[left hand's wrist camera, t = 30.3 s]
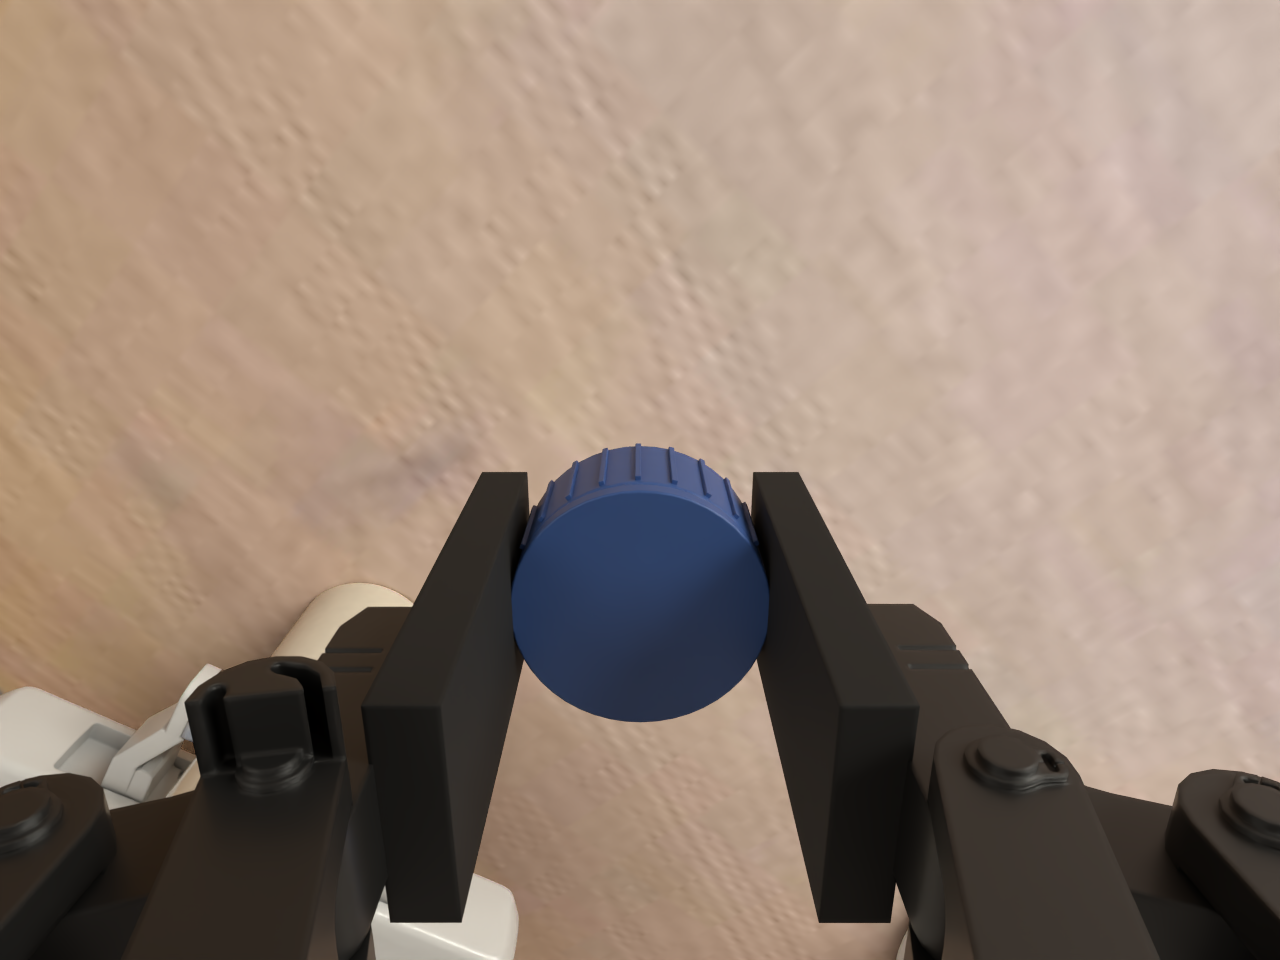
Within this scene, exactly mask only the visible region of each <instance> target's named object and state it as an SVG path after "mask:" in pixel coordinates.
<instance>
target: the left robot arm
mask: <svg viewBox="0 0 1280 960" xmlns="http://www.w3.org/2000/svg"><path fill="white" fill-rule="evenodd" d="M528 519H529V498H528V477H527V472H482V474H481V475H480V477H479V479H478V481H477V483H476V485H475V487H474V489H473V491H472V493H471V495H470V497H469V499H468V500H467V502H466V504H465V506H464V508H463V510H462V512H461V514H460V516H459V518H458V520H457V522H456V524H455V525H454V527H453V529H452V531H451V533H450V535H449V537H448V539H447V541H446V543H445V545H444V547H443V549H442V550H441V552H440V554H439V556H438V558H437V560H436V562H435V564H434V566H433V568H432V570H431V572H430V573H429V575H428V577H427V579H426V581H425V583H424V585H423V587H422V589H421V591H420V593H419V595H418V597H417V598H416V600H415V602H414V604H413V606H412V607H367V608H365V609H364V610H362V611H361V612H359V613H358V614H357V615H355V616H354V617H352V618H351V619H349V620H348V621H346V622H345V623H344V624H342V625H341V626H340V627H339V628H338V630H337V631H336V633H335V634H334V636H333V637H332V639H331V640H330V642H329V643H328V645H327V646H326V648H325V653H322V654H321V656H320V657H319V659H318V660H314V659H310V658H307V657H303V656H274V657H269V658H263V659H258V660H253V661H248V662H245V663H242V664H240V665H237V666H235V667H232V668H229V669H227V670H224V671H221V672H219V673H218V674H216V675H215V676H213V677H212V678H210V679H208V680H207V681H205V682H204V683H202V684H201V685H199V686H198V687H197V688H196V689H195V690H194V691H193V693H192V694H191V695H190V696H189V697H188V698H187V700H186V701H185V702H184V704H185V709H186V713H187V718H188V722H189V727H190V731H191V736H192V740H193V745H194V749H195V754H196V758H197V763H198V767H199V772H200V779H199V781H198V783H197V785H196V788H195V790H192V791H189V792H185V793H182V794H178V795H175V796H171V797H167V798H162V799H157V800H153V801H148V802H143V803H139V804H134V805H129V806H125V807H120V808H115V809H111V810H109V807H108V804H107V800H106V796H105V793H104V789H103V788H102V787H101V786H100V785H99V784H98V783H97V782H96V781H95V780H94V779H93V778H91V777H88V776H83V775H78V774H72V773H61V774H50V775H40V776H36V777H32V778H27V779H24V780H22V781H17V782H14V783H11V784H8V785H5V786H3V787H1V788H0V960H376V955H375V947H374V940H373V933H372V926H371V923H372V920H373V917H374V915H375V912H376V909H377V906H378V903H379V901H380V898H381V895H382V892H383V889H384V887H385V888H386V896H387V903H388V910H389V918H390V923H462V919H463V915H464V910H465V906H466V902H467V898H468V893H469V889H470V885H471V881H472V877H473V872H474V868H475V864H476V860H477V855H478V851H479V847H480V843H481V838H482V834H483V830H484V826H485V822H486V817H487V813H488V809H489V805H490V800H491V796H492V792H493V788H494V784H495V779H496V775H497V771H498V767H499V762H500V758H501V754H502V750H503V745H504V741H505V737H506V733H507V729H508V724H509V720H510V716H511V712H512V707H513V703H514V699H515V695H516V690H517V686H518V682H519V678H520V674H521V669H522V665H523V661H524V658H523V657H522V654H521V652H520V650H519V648H518V646H517V644H516V641H515V637H514V632H513V617H512V600H511V585H512V581H513V578H514V574H515V571H516V568H517V565H518V561H519V558H520V555H521V552H522V549H520V548H519V547H520V544H521V541H522V538H523V535H524V532H525V529H526V525H527V522H528ZM751 519H752V522H753V525H754V528H755V532H756V535H757V538H758V541H759V545H758V548H759V551H760V554H761V558H762V561H763V564H764V567H765V570H766V575H767V579H768V583H769V610H768V626H767V636H766V640H765V642H764V645H763V647H762V649H761V651H760V654H759V656H758V657H757V663H758V667H759V671H760V676H761V680H762V684H763V688H764V692H765V697H766V701H767V705H768V709H769V714H770V718H771V722H772V726H773V730H774V735H775V739H776V743H777V747H778V752H779V756H780V760H781V764H782V768H783V773H784V777H785V781H786V785H787V790H788V794H789V798H790V802H791V807H792V811H793V815H794V819H795V823H796V828H797V832H798V836H799V840H800V845H801V849H802V853H803V857H804V861H805V866H806V870H807V874H808V878H809V883H810V887H811V891H812V895H813V899H814V904H815V908H816V912H817V916H818V921H819V923H890V922H891V915H892V907H893V900H894V893H895V885H896V883H897V886H898V889H899V892H900V895H901V897H902V900H903V903H904V906H905V909H906V911H907V914H908V917H909V926H908V933H907V940H906V947H905V954H904V960H1280V783H1279V782H1277V781H1274V780H1271V779H1268V778H1265V777H1259V776H1257V775H1253V774H1249V773H1245V772H1239V771H1228V770H1217V769H1211V770H1206V771H1201V772H1196V773H1191V774H1189V775H1188V776H1187V777H1186V778H1185V779H1184V780H1183V781H1182V782H1181V783H1180V784H1179V785H1178V788H1177V792H1176V795H1175V799H1174V802H1173V806H1169V805H1164V804H1159V803H1155V802H1150V801H1145V800H1141V799H1136V798H1131V797H1126V796H1122V795H1117V794H1112V793H1108V792H1105V791H1101V790H1098V789H1094V788H1091V787H1087V786H1085V785H1084V784H1083V782H1082V779H1081V777H1080V775H1079V774H1078V772H1077V771H1076V770H1075V768H1074V767H1073V765H1072V764H1071V763H1070V761H1069V760H1068V759H1067V757H1065V756H1064V755H1063V754H1061V753H1060V752H1059V751H1057V750H1056V749H1054V748H1053V747H1052V746H1050V745H1049V744H1048V743H1046V742H1045V741H1042V740H1040V739H1038V738H1035V737H1033V736H1031V735H1029V734H1026V733H1024V732H1022V731H1019V730H1015V729H1011V728H1010V727H1009V725H1008V724H1007V722H1006V721H1005V719H1004V718H1003V716H1002V715H1001V713H1000V711H999V710H998V708H997V707H996V705H995V704H994V702H993V701H992V699H991V698H990V696H989V695H988V693H987V692H986V690H985V689H984V687H983V686H982V684H981V683H980V681H979V680H978V678H977V677H976V675H975V674H974V672H973V671H972V669H969V668H968V663H967V662H966V660H965V659H964V657H963V656H962V654H961V653H960V651H959V650H956V645H955V643H954V642H953V640H952V639H951V637H950V636H949V634H948V633H947V631H946V630H945V628H944V627H943V625H942V624H941V623H940V622H939V621H937V620H936V619H934V618H933V617H931V616H930V615H928V614H927V613H925V612H924V611H923V610H921V609H920V608H918V607H917V606H915V605H914V604H867V603H866V601H865V599H864V597H863V595H862V593H861V592H860V590H859V588H858V586H857V584H856V582H855V580H854V578H853V576H852V574H851V572H850V570H849V569H848V567H847V565H846V563H845V561H844V559H843V557H842V555H841V553H840V551H839V549H838V547H837V545H836V544H835V542H834V540H833V538H832V536H831V534H830V532H829V530H828V528H827V526H826V524H825V522H824V520H823V519H822V517H821V515H820V513H819V511H818V509H817V507H816V505H815V503H814V501H813V499H812V497H811V496H810V494H809V492H808V490H807V488H806V486H805V484H804V482H803V480H802V478H801V476H800V474H799V472H753V489H752V509H751Z"/></svg>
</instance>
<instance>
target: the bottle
mask: <svg viewBox="0 0 1280 960" xmlns="http://www.w3.org/2000/svg"><path fill="white" fill-rule="evenodd" d="M412 606H413V603H412V602H411V601H410V600H408V599H407V598H406V597H404V596H403V595H401V594H399V593H398V592H396V591H394V590H391V589H389V588H386V587H383V586H380V585H376V584H370V583H349V584H343V585H339V586H336V587H333V588H331V589H328V590H326V591H325V592H323V593H321V594H320V595H319V596H317V597H316V598H315V599H314V600H313V601H312V602H311V603H310V604H309V605H308V607H307V608H306V609H305V611H304V612H303V613H302V615H301V616H300V617H299V619H298V620H297V621H296V623H295V624H294V625H293V627H292V628H291V629H290V631H289V632H288V633H287V635H286V636H285V637H284V639H283V640H282V641H281V643H280V644H279V645H278V647H277V648H276V649H275V651H274V652H273V653H272V655H271V656H270V657H274V656H303V657H307V658H310V659H314V660H318V659H319V657H320V656H321V654H322V653H325V648H326V646H327V645H328V643H329V642H330V640H331V639H332V637H333V636H334V634H335V633H336V631H337V630H338V628H339V627H340V626H341V625H342V624H344V623H345V622H346V621H348V620H349V619H351V618H352V617H354V616H355V615H357V614H358V613H359V612H361V611H362V610H364V609H365V608H367V607H412ZM199 779H200V772H199V767H198V763H197V758H196V756H195V758H194V759H193V760H192V762H191V763H190V764H189V766H188V767H187V768H186V770H185V771H184V772H183V774H182V775H181V776H180V778H179V779H178V781H177V782H176V783H175V785H174V786H173V787H172V789H171V790H170V791H169V793H168V794H167V795H166V797H165V798H167V797H171V796H175V795H178V794H182V793H185V792H189V791H192V790H195V788H196V785H197V783H198V781H199Z"/></svg>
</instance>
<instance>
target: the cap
mask: <svg viewBox="0 0 1280 960" xmlns="http://www.w3.org/2000/svg"><path fill="white" fill-rule="evenodd" d="M758 545H759V541H758V538H757V535H756V532H755V528H754V525H753V522H752V519H751V516H750V513H749V510H748V506H747V504H746V502H744V503H742V502H741V501H740V499H739V498H738V496H737V495H736V493H735V492H734V490H733V489H732V488H731V485H730V481H729V480H728V479H727V478H725V479H723V478H722V477H721V476H719V475H718V474H717V473H716V472H715V471H713V470H712V469H711V468H709V467H708V466H706V465H705V462H704V460H702V459H699V461H698V460H696V459H694V458H691V457H689V456H687V455H685V454H682V453H679V452H675V451H674V448H672V447H669V449H663V448H657V447H645V446H641V444H636V446H635V447H623V448H618V449H613V450H608V448H605V449H603V451H602V453H599V454H596V455H593V456H591V457H589V458H587V459H585V460H583V461H581V462H579V463H578V461H575V462H573V464H572V467H571V468H570V469H568V470H567V471H566V472H565V473H564V474H562V475H561V476H560V477H559V478H558V479H557V480H556V481H555V482H553V481H552V480H551V481H550V482H549V484H548V487H547V491H546V493H545V494H544V496H543V497H542V499H541V500H540V502H539V503H538V506H535V505H533V507H532V510H531V513H530V516H529V519H528V522H527V525H526V529H525V532H524V535H523V538H522V541H521V544H520V547H519V548H520V549H522V552H521V555H520V558H519V561H518V565H517V568H516V571H515V574H514V578H513V581H512V585H511V600H512V617H513V632H514V637H515V641H516V644H517V646H518V648H519V650H520V652H521V654H522V657H523V658H524V660H525V661H526V663H527V664H528V666H529V667H530V669H531V670H532V672H533V673H534V674H535V675H536V676H537V678H538V679H539V680H540V681H541V682H542V683H543V684H544V685H545V686H546V687H547V688H548V689H550V690H551V691H552V692H553V693H554V694H556V695H557V696H559V697H560V698H561V699H563V700H564V701H566V702H568V703H569V704H571V705H573V706H575V707H577V708H579V709H581V710H583V711H586V712H588V713H591V714H593V715H597V716H601V717H604V718H608V719H613V720H619V721H626V722H653V721H662V720H667V719H673V718H677V717H680V716H683V715H687V714H690V713H692V712H695V711H697V710H699V709H702V708H704V707H706V706H708V705H709V704H711V703H713V702H715V701H716V700H718V699H719V698H721V697H722V696H723V695H725V694H726V693H727V692H729V691H730V690H731V689H732V688H733V687H734V686H735V685H736V684H737V683H739V682H740V681H741V680H742V678H743V677H744V676H745V675H746V673H747V672H748V671H749V670H750V669H751V667H752V665H753V664H754V662H755V661H756V659H757V657H758V656H759V654H760V651H761V649H762V647H763V645H764V642H765V640H766V636H767V626H768V610H769V583H768V579H767V575H766V570H765V567H764V564H763V561H762V558H761V554H760V551H759V548H758Z"/></svg>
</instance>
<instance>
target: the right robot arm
mask: <svg viewBox="0 0 1280 960" xmlns="http://www.w3.org/2000/svg"><path fill="white" fill-rule="evenodd" d="M221 671H224V670H223V669H220V668H218V667H215V666H213V665H211V664H208V663H207V664H206V665H205V666H204V667H203V668H202V669H201V671H200V672H199V673H198V674H197V675H196V676H195V678H194V679H193V680H192V681H191V682H190V684H189V685H188V687H187V688H186V690H185V691H184V693H183V694H182V696H181V698H180V699H179V702H177V703H175V704H174V705H172V706H170V707H168V708H166V709H164V710H162V711H160V712H158V713H156V714H155V715H153V716H151V717H149V718H148V719H147V720H146V721H145V722H144V723H143V724H142V725H141V727H140V728H139V729H138V730H135V729H133V728H131V727H128V726H126V725H124V724H121V723H119V722H116V721H114V720H112V719H109V718H107V717H105V716H102V715H100V714H98V713H95V712H93V711H91V710H88V709H86V708H83V707H81V706H79V705H76V704H74V703H72V702H69V701H67V700H65V699H62V698H60V697H58V696H55V695H53V694H51V693H49V692H47V691H44V690H42V689H39V688H36V687H31V686H26V687H21V688H18V689H15V690H12V691H9V692H7V693H4V694H2V695H0V788H1V787H3V786H5V785H8V784H11V783H14V782H17V781H22V780H24V779H27V778H32V777H36V776H40V775H50V774H61V773H72V774H78V775H83V776H88V777H91V778H93V779H94V780H95V781H96V782H97V783H98V784H99V785H100V786H101V787H102V788H103V789H104V793H105V796H106V800H107V804H108V807H109V810H111V809H115V808H120V807H125V806H129V805H134V804H139V803H143V802H148V801H153V800H157V799H162V798H165V797H166V795H167V794H168V793H169V791H170V790H171V789H172V787H173V786H174V785H175V783H176V782H177V781H178V779H179V778H180V776H181V775H182V774H183V772H184V771H185V770H186V768H187V767H188V766H189V764H190V763H191V762H192V760H193V759H194V758H195V756H196V755H194V754H192V753H190V752H187V751H185V750H182V749H180V748H181V746H182V744H183V741H184V740H185V739H186V740H188V741H191V742H193V740H192V736H191V731H190V727H189V722H188V718H187V713H186V709H185V704H184V702H185V701H186V700H187V698H188V697H189V696H190V695H191V694H192V693H193V691H194V690H195V689H196V688H197V687H198V686H199V685H201V684H202V683H204V682H205V681H207V680H208V679H210V678H212V677H213V676H215V675H216V674H218V673H219V672H221ZM371 926H372V933H373V940H374V947H375V955H376V960H514V955H515V949H516V944H517V936H518V926H519V917H518V911H517V908H516V904H515V900H514V897H513V894H512V892H511V891H510V890H509V889H508V888H506V887H505V886H503V885H501V884H499V883H497V882H494V881H492V880H489V879H487V878H485V877H482V876H480V875H477V874H475V873H473V877H472V881H471V885H470V889H469V893H468V898H467V902H466V906H465V910H464V915H463V919H462V923H390V918H389V910H388V903H387V896H386V888H385V887H384V889H383V892H382V895H381V898H380V901H379V903H378V906H377V909H376V912H375V915H374V917H373V920H372V923H371ZM907 933H908V930H907V932H906V934H905V935H904V937H903V940H902V942H901V944H900V947H899V950H898V953H897V957H896V960H904V954H905V947H906V940H907Z"/></svg>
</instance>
